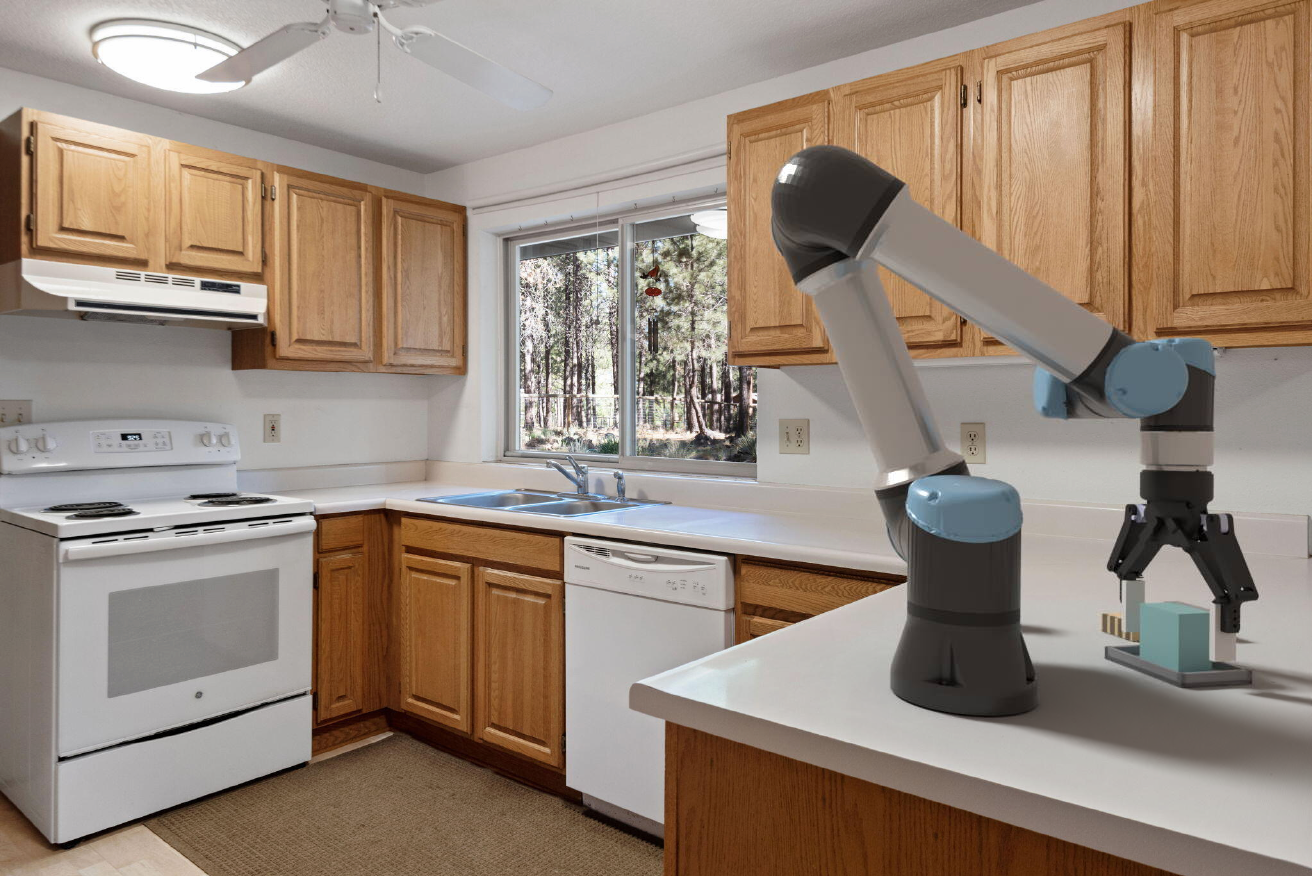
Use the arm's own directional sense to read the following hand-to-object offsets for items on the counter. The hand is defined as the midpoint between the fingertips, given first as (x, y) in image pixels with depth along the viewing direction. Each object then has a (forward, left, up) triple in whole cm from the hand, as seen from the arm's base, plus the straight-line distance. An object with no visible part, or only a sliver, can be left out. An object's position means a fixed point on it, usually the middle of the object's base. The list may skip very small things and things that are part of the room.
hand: (1174, 645), depth 99 cm
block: (0, 0, -2) cm, 2 cm away
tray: (0, 0, -3) cm, 3 cm away
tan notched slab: (+12, +16, -3) cm, 20 cm away
